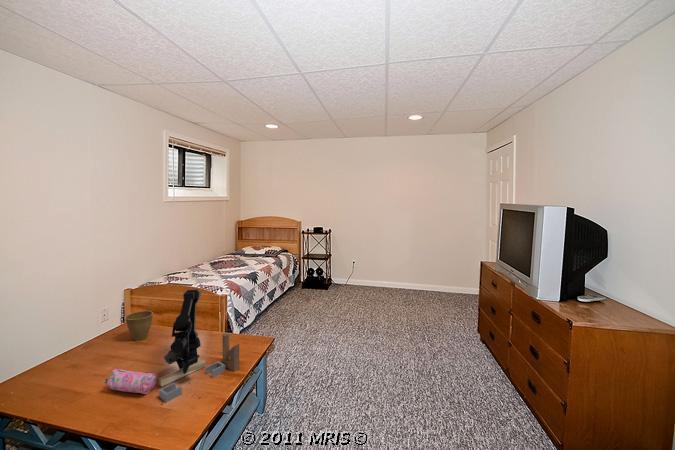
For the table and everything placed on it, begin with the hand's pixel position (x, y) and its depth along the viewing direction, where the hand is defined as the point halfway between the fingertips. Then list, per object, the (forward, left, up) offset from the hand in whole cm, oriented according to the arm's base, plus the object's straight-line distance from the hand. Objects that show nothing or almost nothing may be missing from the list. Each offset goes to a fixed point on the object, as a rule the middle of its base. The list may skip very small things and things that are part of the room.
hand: (183, 372), depth 148 cm
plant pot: (-65, +5, -2) cm, 65 cm away
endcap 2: (+11, +11, -2) cm, 16 cm away
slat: (0, 0, -1) cm, 1 cm away
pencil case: (-8, -20, -2) cm, 22 cm away
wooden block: (+13, +19, -2) cm, 23 cm away
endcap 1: (+11, -11, -2) cm, 16 cm away
